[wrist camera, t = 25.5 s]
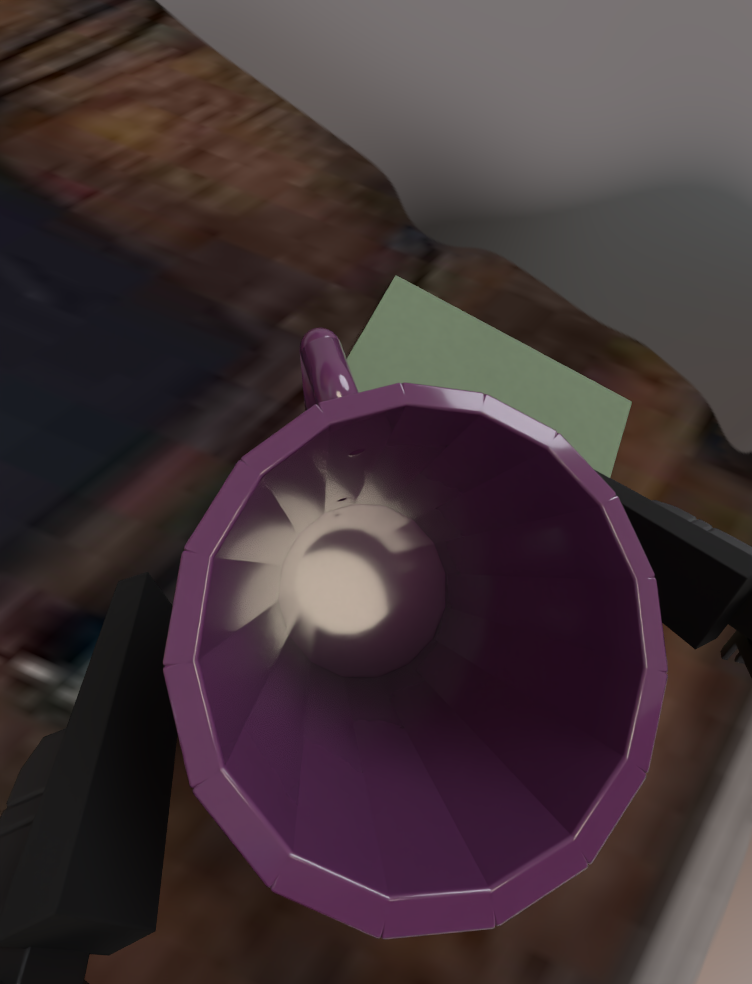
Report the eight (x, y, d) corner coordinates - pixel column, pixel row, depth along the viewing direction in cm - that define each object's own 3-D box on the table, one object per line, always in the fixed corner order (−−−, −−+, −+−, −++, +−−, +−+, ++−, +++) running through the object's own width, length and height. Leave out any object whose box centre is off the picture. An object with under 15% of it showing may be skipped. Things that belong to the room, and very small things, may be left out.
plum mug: (476, 640, 17) (746, 765, 6) (302, 718, 15) (257, 1089, 4) (395, 425, 19) (495, 232, 8) (231, 470, 17) (73, 298, 6)
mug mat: (305, 432, 18) (305, 430, 17) (394, 280, 21) (395, 274, 20) (577, 571, 18) (583, 571, 18) (626, 404, 21) (632, 401, 21)
